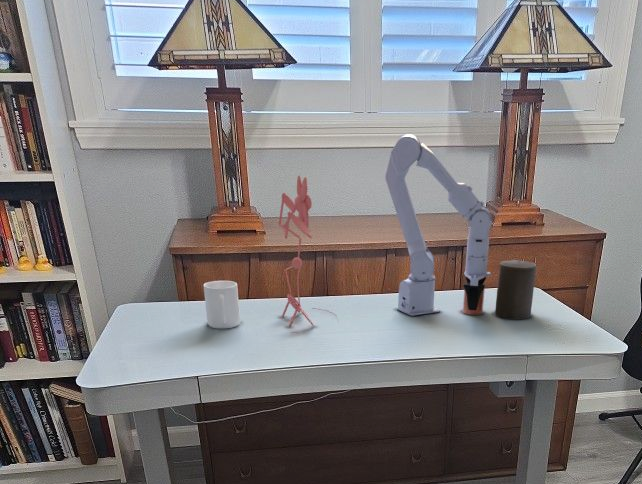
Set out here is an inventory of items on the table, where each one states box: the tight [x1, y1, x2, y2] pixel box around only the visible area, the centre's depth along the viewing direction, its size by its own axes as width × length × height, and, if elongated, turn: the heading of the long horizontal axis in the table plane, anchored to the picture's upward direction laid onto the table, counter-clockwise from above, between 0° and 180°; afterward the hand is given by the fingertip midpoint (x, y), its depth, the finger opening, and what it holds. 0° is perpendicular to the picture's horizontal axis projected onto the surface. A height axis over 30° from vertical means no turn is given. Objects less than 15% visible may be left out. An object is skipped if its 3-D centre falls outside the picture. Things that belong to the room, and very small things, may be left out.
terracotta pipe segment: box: [462, 288, 486, 316], centre depth 192 cm, size 5×6×6 cm
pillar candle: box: [494, 258, 537, 320], centre depth 188 cm, size 10×10×15 cm
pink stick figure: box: [278, 175, 339, 334], centre depth 176 cm, size 15×26×35 cm, turn 19°
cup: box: [203, 280, 241, 330], centre depth 176 cm, size 8×12×10 cm
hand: (473, 306), depth 193 cm, fingers open, 7 cm apart
